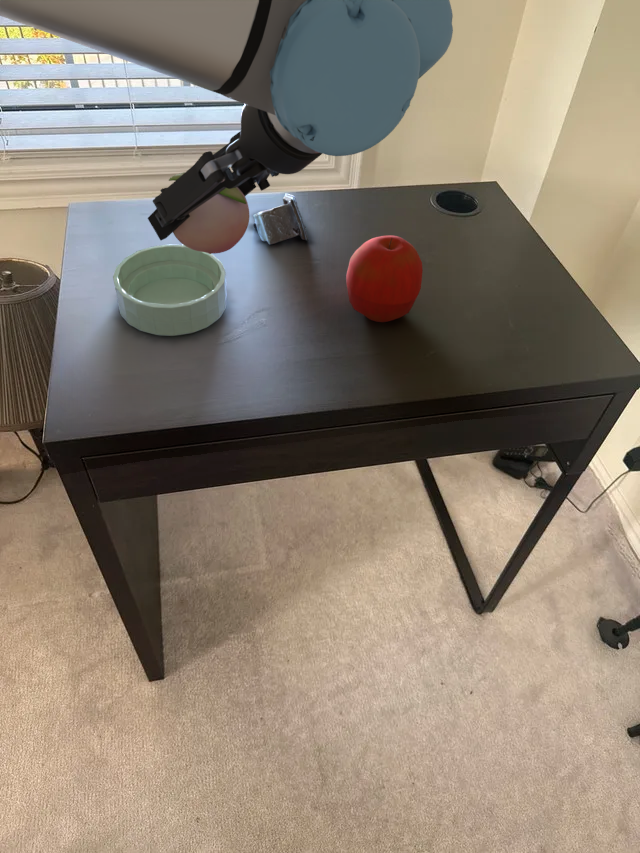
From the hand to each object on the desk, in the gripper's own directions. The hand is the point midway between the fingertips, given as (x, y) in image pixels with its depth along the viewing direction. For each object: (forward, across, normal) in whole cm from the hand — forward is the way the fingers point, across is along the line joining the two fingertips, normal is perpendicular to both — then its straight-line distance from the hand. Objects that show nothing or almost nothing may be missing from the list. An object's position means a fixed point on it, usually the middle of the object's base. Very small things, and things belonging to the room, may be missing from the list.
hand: (190, 213), depth 73 cm
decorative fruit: (+1, 0, -5) cm, 5 cm away
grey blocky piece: (+18, +24, -4) cm, 31 cm away
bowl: (+15, 0, -8) cm, 16 cm away
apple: (0, +19, -22) cm, 29 cm away
